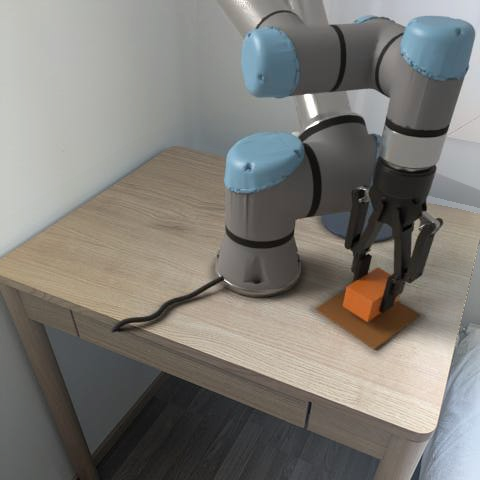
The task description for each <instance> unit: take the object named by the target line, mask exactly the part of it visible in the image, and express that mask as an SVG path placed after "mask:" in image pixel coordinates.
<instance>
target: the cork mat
mask: <svg viewBox="0 0 480 480" xmlns="http://www.w3.org/2000/svg"><path fill="white" fill-rule="evenodd" d="M345 292H346V289H345V290H344V289H343V291H341V292H340V293H338V294H337V295H335V296H333V297H331V298H330V299H328V300H327V301H325V302H324V303H322V304H320V305H319V306H317V307H316V308H315V311H316V312H317V313H319V314H321V315H322V316H323V317H325V318H326V319H328V320H330V321H331V322H332V323H334V324H335V325H337V326H338V327H340V328H341V329H343V330H344V331H346V332H347V333H349V334H350V335H352V336H353V337H354V338H356V339H357V340H359V341H361V342H362V343H364V344H365V345H367V346H368V347H369V348H370V349H372V350H374V351H375V350H377V349H378V348H380V347H381V346H382V345H383V344H385V343H386V342H388V340H390V339H391V338H393V337H394V336H395V335H397V334H398V333H400V332H401V331H402V330H403V329H404V328H406V327H407V326H409V325H410V324H411V323H412V322H414V321H415V320H416V319H418V318H419V317H421V313H419V312H417V311H416V310H414V309H412V308H410V307H409V306H407V305H405V303H404V304H403V303H402V302H400V301H399V300H398V301H397V302H396V303H394V304H393V306H392V307H391V308H389V309H388V310H387V311H385V312H384V313H382V312H381V313H380V314H378V315H377V316H376V317H374V318H373V319H371V320H370V321H368V322H366V321H365V320H363V319H362V318H360V317H359V316H357V315H355V314H354V313H352V312H351V311H349V310H348V309H346V308H345V307H343V302H344V297H345Z"/></svg>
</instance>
